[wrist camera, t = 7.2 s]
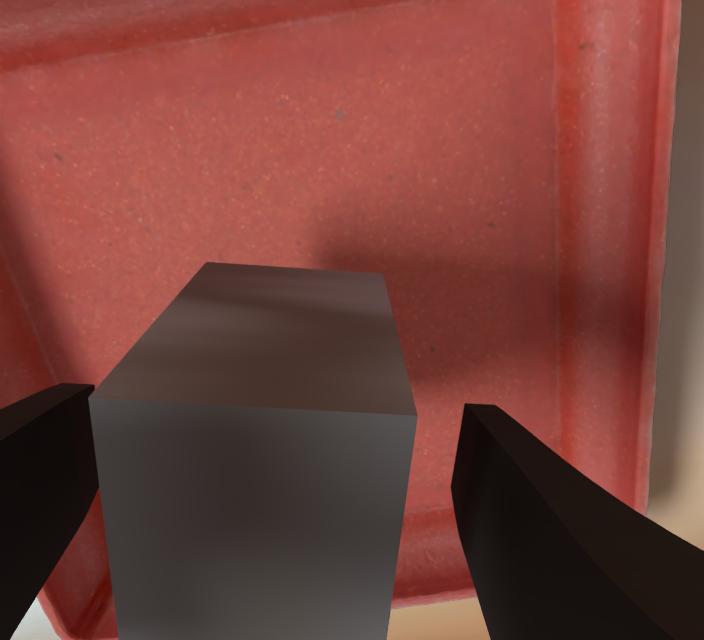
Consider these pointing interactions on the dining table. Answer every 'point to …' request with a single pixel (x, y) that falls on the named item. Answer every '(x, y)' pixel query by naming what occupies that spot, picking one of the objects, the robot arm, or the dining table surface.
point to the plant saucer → (351, 213)
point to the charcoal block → (257, 459)
